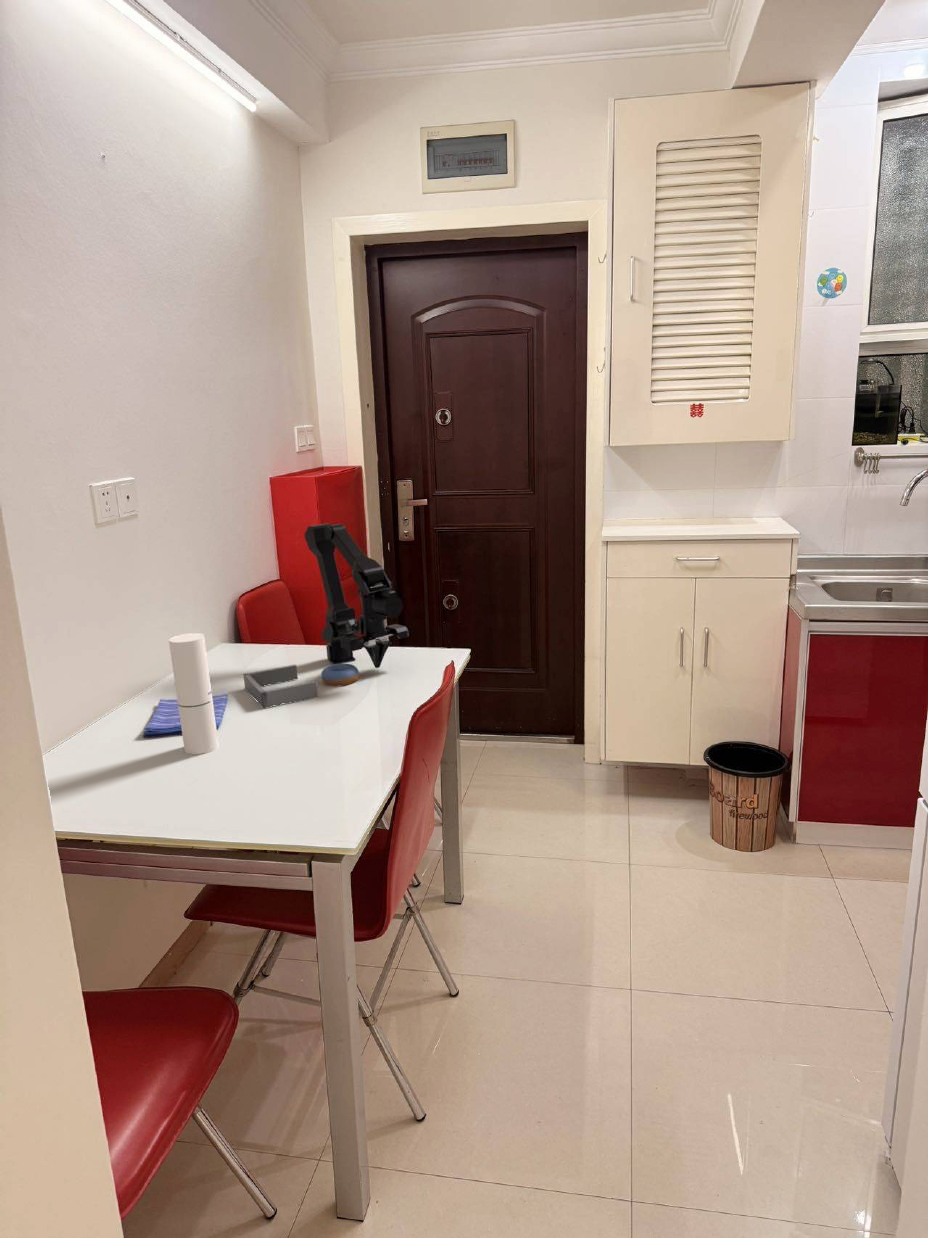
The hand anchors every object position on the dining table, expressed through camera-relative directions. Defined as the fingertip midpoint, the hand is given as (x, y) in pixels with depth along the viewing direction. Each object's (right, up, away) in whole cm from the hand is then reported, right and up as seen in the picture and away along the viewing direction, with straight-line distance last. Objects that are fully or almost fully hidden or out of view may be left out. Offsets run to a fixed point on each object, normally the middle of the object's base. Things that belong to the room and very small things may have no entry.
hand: (377, 667), depth 229 cm
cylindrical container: (-34, -15, -45) cm, 58 cm away
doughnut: (-9, -4, -4) cm, 11 cm away
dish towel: (-43, -11, -25) cm, 51 cm away
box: (-24, -6, -11) cm, 27 cm away
